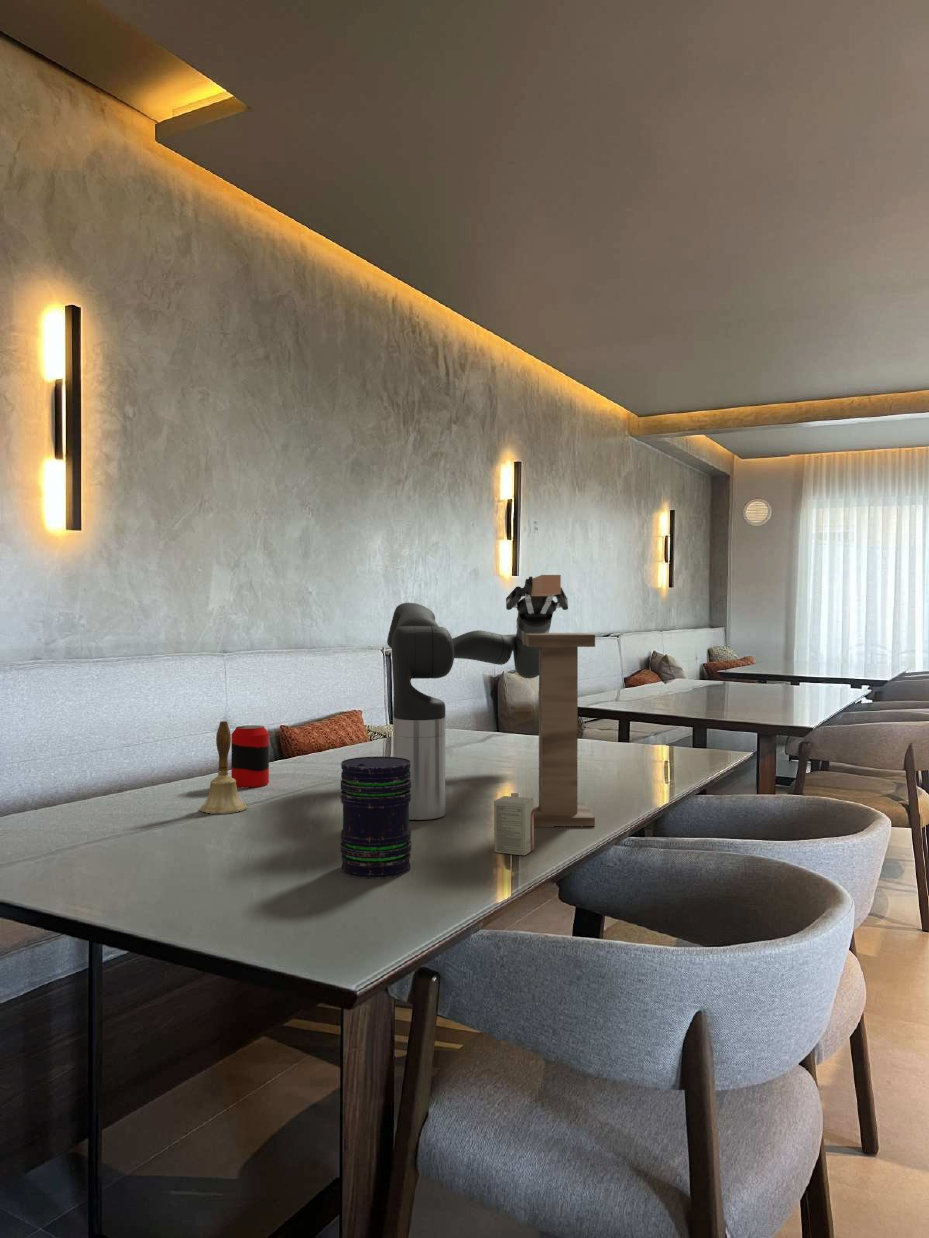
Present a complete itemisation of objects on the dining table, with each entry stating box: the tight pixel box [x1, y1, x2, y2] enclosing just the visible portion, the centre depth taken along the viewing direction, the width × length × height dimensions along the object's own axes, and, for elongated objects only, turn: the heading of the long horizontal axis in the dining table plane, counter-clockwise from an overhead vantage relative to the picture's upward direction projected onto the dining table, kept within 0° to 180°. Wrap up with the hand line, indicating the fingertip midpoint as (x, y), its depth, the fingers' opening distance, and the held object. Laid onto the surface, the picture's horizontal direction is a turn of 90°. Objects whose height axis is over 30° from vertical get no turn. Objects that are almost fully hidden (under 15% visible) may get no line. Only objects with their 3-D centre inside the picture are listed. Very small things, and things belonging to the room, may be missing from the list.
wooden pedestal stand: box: [522, 632, 596, 828], centre depth 163 cm, size 14×11×32 cm
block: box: [530, 574, 562, 596], centre depth 185 cm, size 24×4×4 cm, turn 1°
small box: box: [493, 795, 535, 856], centre depth 140 cm, size 5×4×8 cm
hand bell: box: [199, 720, 248, 815], centre depth 170 cm, size 8×8×16 cm
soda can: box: [230, 724, 270, 788], centre depth 194 cm, size 8×8×12 cm
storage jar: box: [340, 756, 412, 880], centre depth 131 cm, size 10×10×15 cm
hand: (540, 580), depth 193 cm, fingers closed on block, 3 cm apart
